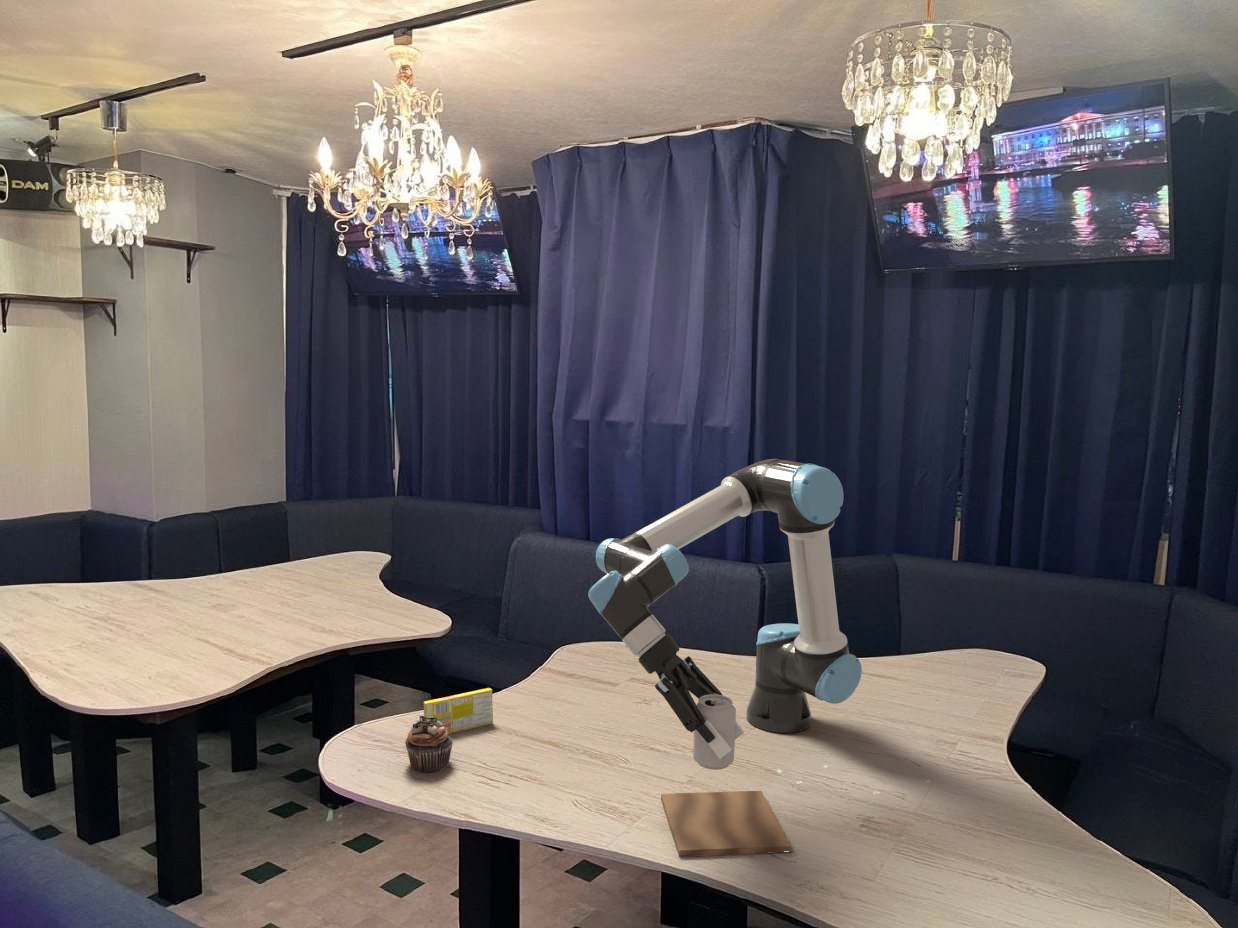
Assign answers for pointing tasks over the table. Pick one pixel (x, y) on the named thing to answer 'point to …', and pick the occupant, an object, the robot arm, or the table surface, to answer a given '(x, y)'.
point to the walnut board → (723, 823)
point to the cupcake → (428, 745)
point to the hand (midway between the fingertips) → (732, 744)
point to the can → (723, 721)
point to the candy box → (462, 710)
